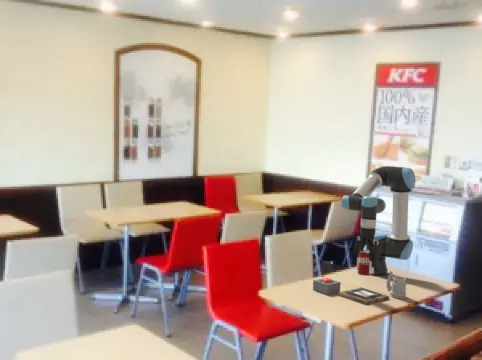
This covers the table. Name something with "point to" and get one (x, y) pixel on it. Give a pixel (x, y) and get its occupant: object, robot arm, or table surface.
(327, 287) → the button housing
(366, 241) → the robot arm
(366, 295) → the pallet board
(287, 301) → the table surface
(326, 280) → the button
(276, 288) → the table surface
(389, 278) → the mug
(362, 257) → the soda can
